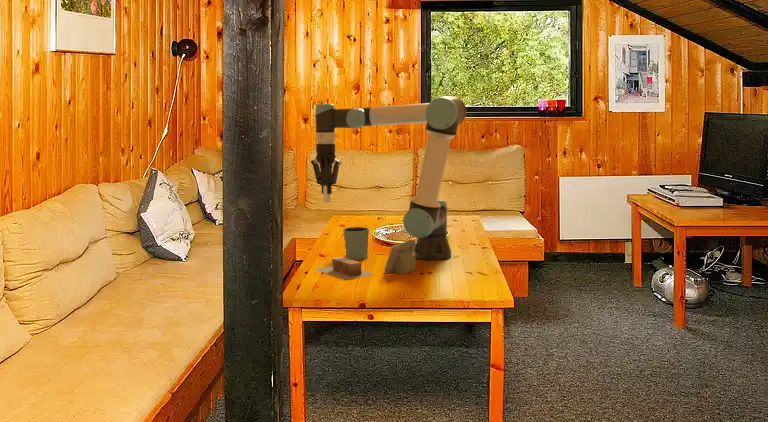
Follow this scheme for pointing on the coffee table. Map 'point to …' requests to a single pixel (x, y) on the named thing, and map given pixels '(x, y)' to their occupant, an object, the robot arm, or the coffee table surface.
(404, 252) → the digital clock
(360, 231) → the grey green cup
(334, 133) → the robot arm
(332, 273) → the felt mat
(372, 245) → the coffee table surface
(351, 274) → the walnut block
